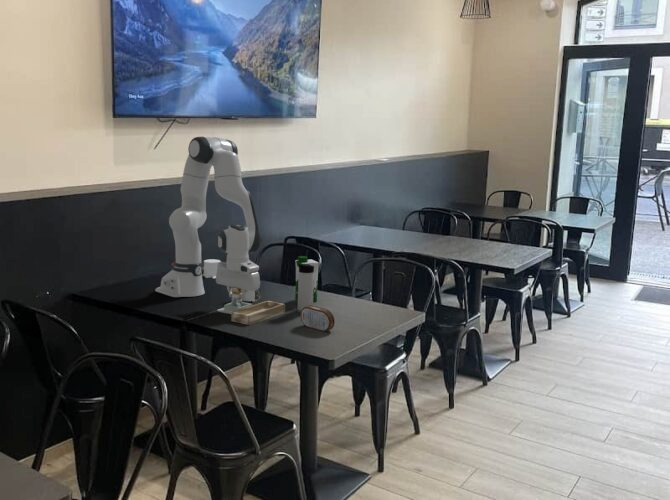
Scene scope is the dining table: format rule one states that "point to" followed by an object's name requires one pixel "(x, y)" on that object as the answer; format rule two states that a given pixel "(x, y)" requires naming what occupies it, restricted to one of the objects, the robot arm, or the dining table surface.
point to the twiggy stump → (210, 268)
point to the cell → (236, 297)
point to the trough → (257, 312)
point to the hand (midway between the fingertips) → (236, 298)
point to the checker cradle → (233, 307)
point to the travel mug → (305, 286)
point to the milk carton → (313, 263)
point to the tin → (317, 318)
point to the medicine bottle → (252, 295)
